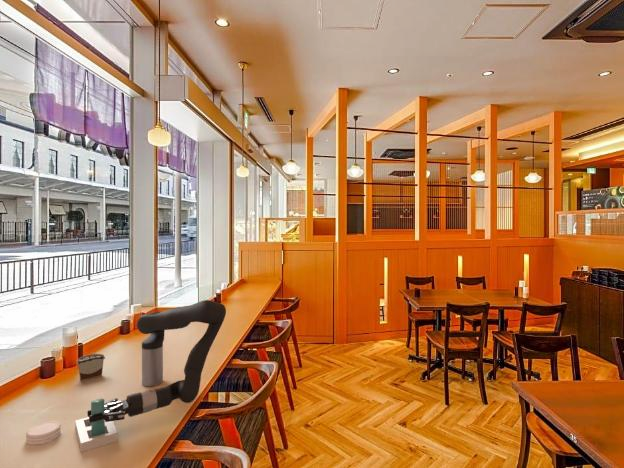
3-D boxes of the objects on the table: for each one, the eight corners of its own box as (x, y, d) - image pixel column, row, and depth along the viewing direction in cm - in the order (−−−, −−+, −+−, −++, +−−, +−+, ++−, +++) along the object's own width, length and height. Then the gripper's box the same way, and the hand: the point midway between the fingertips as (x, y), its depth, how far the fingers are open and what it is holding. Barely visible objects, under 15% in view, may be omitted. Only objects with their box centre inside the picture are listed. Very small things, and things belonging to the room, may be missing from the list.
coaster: (19, 442, 131) (19, 432, 131) (47, 428, 141) (47, 418, 140) (39, 448, 128) (39, 438, 128) (67, 433, 137) (67, 423, 137)
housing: (75, 428, 140) (75, 420, 140) (108, 419, 146) (108, 411, 146) (80, 452, 125) (80, 442, 125) (117, 441, 132) (117, 432, 132)
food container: (101, 371, 194) (101, 351, 194) (105, 374, 190) (105, 354, 190) (73, 377, 186) (73, 357, 185) (76, 381, 181) (76, 360, 181)
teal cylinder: (90, 431, 133) (90, 400, 132) (103, 428, 135) (103, 397, 135) (92, 437, 129) (91, 405, 129) (105, 433, 132) (105, 401, 132)
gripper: (137, 386, 146) (85, 398, 136) (146, 399, 135) (91, 414, 125) (137, 405, 146) (85, 418, 136) (146, 420, 135) (91, 436, 125)
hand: (88, 416), depth 130 cm, fingers closed on teal cylinder, 4 cm apart
